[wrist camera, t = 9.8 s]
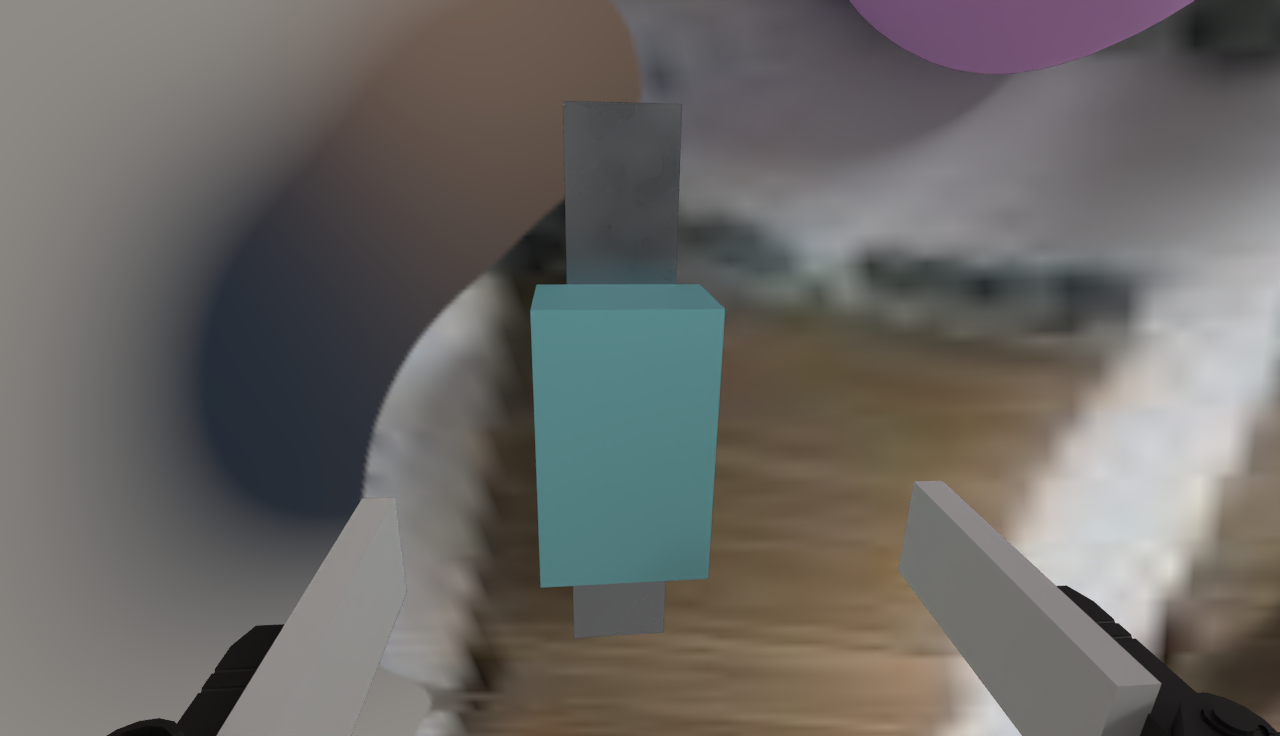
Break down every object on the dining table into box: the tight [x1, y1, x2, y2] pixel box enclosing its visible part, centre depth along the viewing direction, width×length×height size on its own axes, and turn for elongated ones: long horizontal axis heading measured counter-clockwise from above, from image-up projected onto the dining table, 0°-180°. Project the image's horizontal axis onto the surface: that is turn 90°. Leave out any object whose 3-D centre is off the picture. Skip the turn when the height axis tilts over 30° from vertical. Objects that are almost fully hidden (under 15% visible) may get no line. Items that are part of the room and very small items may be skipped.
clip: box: [530, 284, 725, 588], centre depth 25 cm, size 10×6×8 cm, turn 179°
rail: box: [563, 101, 682, 638], centre depth 27 cm, size 22×4×4 cm, turn 179°
